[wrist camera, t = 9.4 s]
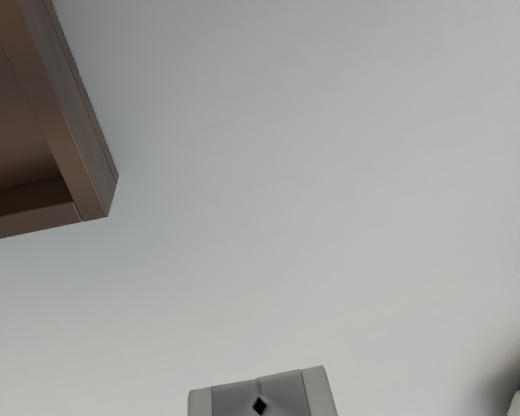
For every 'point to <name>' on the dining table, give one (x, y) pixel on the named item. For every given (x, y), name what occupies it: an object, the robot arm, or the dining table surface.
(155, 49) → the dining table surface
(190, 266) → the dining table surface
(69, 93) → the window frame
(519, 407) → the vase
